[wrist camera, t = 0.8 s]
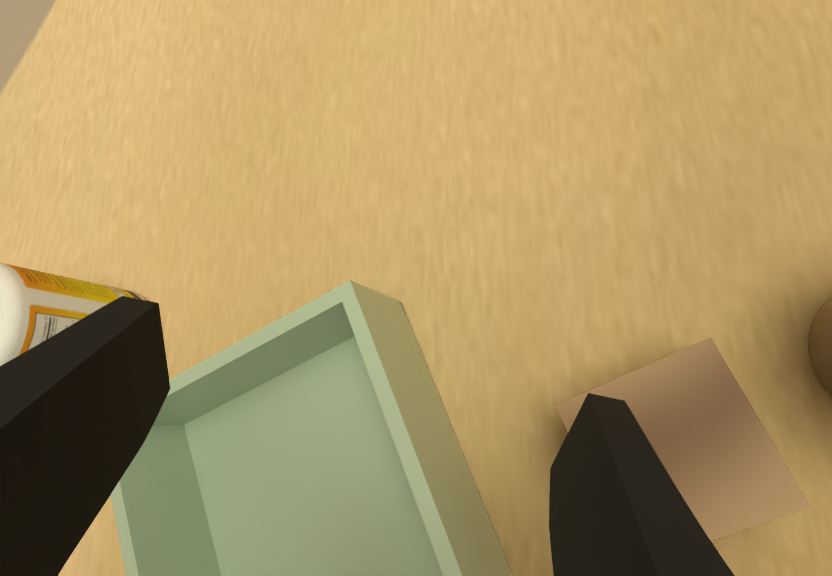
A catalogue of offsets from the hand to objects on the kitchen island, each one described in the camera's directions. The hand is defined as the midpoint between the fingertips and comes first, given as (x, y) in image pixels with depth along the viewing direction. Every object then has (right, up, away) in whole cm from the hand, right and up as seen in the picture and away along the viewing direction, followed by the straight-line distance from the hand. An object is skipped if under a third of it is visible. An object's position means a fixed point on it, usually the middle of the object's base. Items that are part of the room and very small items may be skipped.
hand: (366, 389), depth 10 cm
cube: (+10, -4, +12) cm, 16 cm away
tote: (-2, -9, +15) cm, 18 cm away
